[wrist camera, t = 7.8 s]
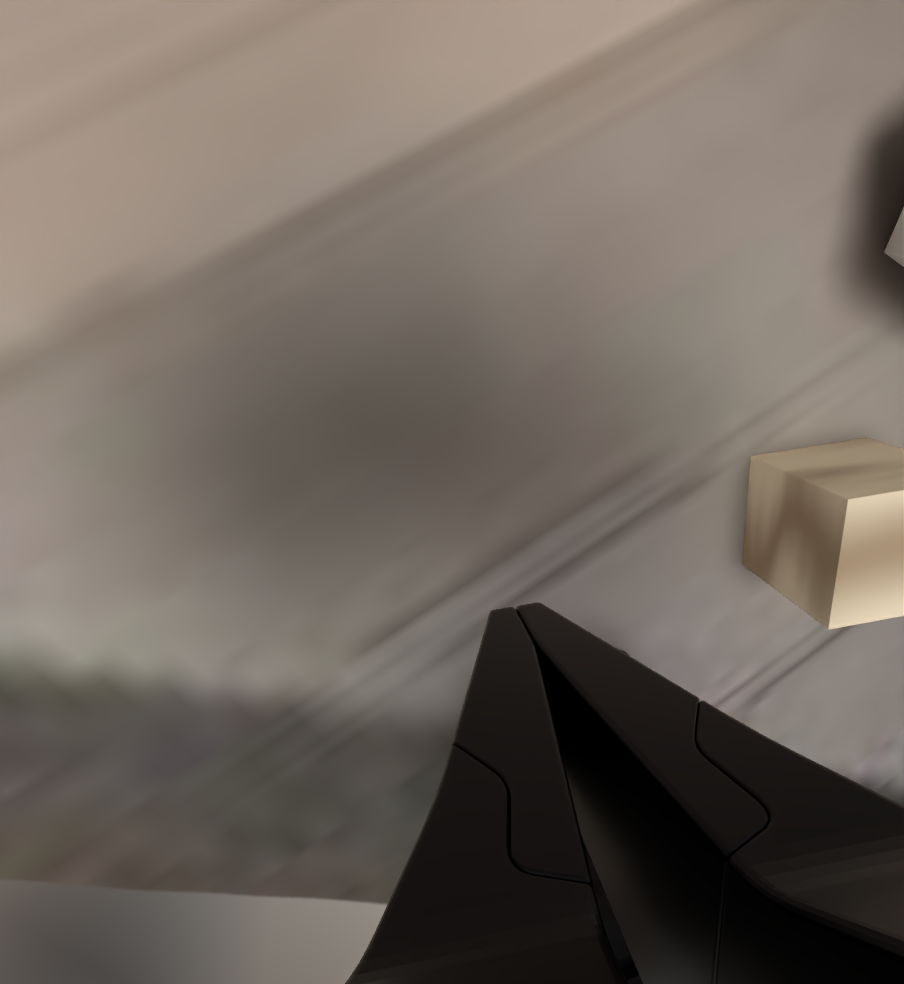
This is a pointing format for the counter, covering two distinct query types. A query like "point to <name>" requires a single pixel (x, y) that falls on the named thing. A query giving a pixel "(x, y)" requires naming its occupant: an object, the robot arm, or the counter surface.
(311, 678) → the counter surface
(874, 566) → the birch block
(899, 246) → the die
